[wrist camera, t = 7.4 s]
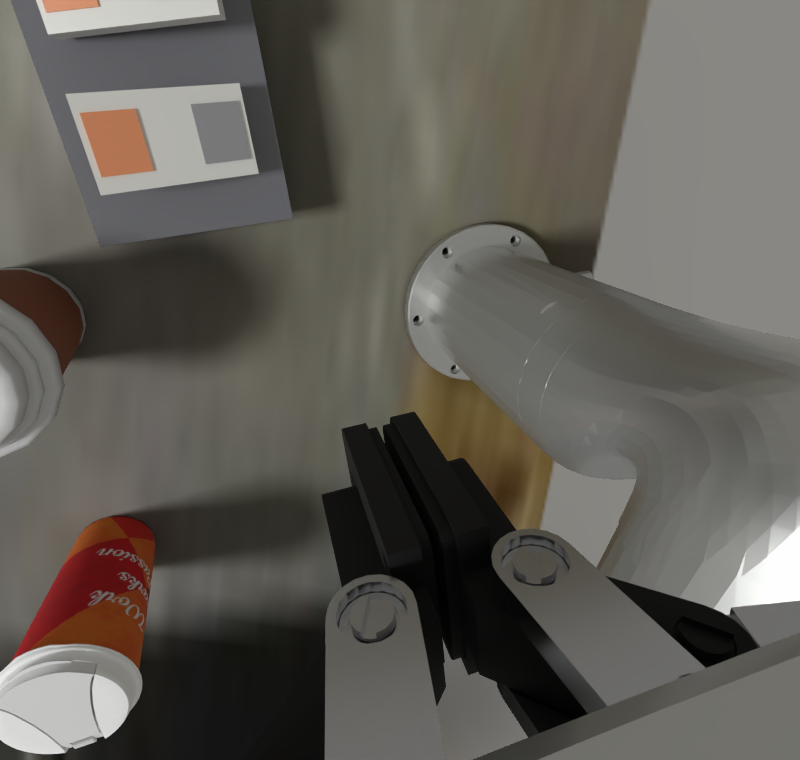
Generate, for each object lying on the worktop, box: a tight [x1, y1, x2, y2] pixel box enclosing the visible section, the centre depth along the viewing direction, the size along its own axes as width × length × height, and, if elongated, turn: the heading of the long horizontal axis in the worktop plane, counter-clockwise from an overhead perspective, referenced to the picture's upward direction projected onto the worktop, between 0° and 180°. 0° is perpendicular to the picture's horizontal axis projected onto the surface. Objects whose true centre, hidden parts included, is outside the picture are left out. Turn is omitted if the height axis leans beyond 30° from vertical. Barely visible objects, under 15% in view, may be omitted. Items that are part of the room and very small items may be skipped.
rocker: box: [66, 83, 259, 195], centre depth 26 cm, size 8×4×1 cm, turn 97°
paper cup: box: [0, 516, 155, 754], centre depth 34 cm, size 8×8×14 cm
